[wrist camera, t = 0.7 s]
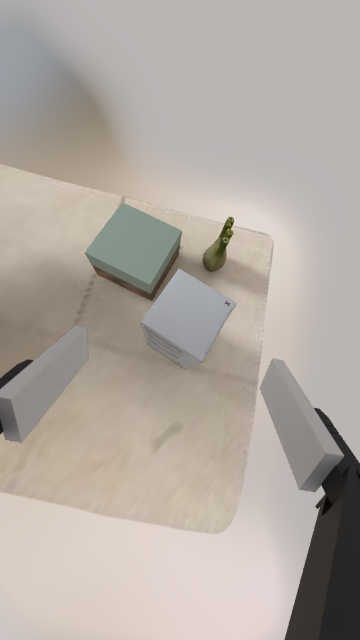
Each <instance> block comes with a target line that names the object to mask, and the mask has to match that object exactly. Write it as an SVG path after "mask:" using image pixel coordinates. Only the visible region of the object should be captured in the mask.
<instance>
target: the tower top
mask: <svg viewBox="0 0 360 640" xmlns="http://www.w3.org/2000/svg"><path fill="white" fill-rule="evenodd" d="M181 234H182V231H181V230H179V229H177V228H175V227H173V226H171V225H169V224H167V223H165V222H163V221H160V220H158V219H156V218H154V217H152V216H150V215H148V214H146V213H144V212H142V211H139V210H137V209H135V208H133V207H131V206H129V205H127V204H125V203H123V202H122V204H121V205H120V206H119V208H118V209H117V210H116V212H115V213H114V214H113V216H112V217H111V218H110V220H109V221H108V222H107V224H106V225H105V226H104V228H103V229H102V230H101V232H100V233H99V234H98V236H97V237H96V238H95V240H94V241H93V242H92V244H91V245H90V246H89V248H88V249H87V250H86V252H85V254H86V256H87V258H88V259H89V261H90V263H91V265H93V266H95V267H97V268H99V269H101V270H103V271H105V272H107V273H109V274H112V275H114V276H116V277H118V278H120V279H122V280H124V281H126V282H128V283H130V284H132V285H134V286H136V287H138V288H140V289H142V290H144V291H146V292H148V293H150V294H151V293H152V291H153V289H154V287H155V286H156V284H157V282H158V281H159V279H160V277H161V275H162V274H163V272H164V270H165V269H166V267H167V265H168V263H169V262H170V260H171V258H172V257H173V255H174V253H175V251H176V250H177V248H178V246H179V245H180V240H181Z"/></svg>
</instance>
